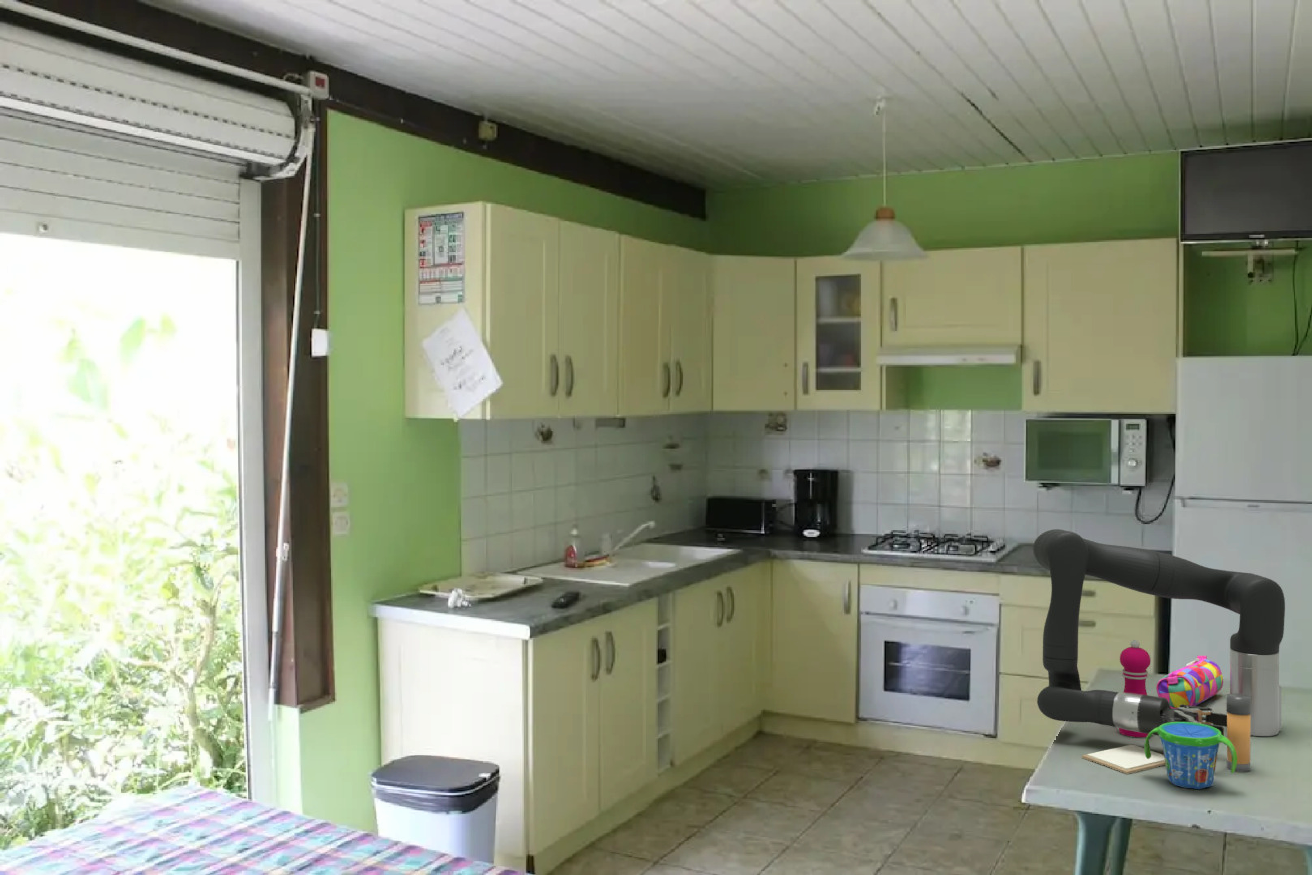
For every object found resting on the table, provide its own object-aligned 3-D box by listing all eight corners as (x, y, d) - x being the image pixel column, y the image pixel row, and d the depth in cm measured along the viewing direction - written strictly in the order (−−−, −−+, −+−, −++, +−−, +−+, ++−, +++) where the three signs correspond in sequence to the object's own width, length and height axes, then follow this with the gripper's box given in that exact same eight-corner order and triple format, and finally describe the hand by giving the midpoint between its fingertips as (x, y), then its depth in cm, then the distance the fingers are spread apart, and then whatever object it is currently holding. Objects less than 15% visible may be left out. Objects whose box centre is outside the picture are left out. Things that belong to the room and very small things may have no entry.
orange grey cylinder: (1236, 763, 218) (1236, 692, 218) (1255, 769, 215) (1256, 697, 214) (1221, 766, 217) (1221, 695, 216) (1241, 773, 213) (1241, 700, 212)
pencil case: (1183, 689, 272) (1183, 652, 272) (1225, 695, 266) (1225, 657, 266) (1154, 709, 256) (1154, 670, 256) (1198, 716, 250) (1198, 676, 249)
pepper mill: (1143, 740, 233) (1143, 645, 233) (1110, 732, 239) (1110, 640, 238) (1160, 733, 238) (1160, 640, 237) (1127, 725, 244) (1127, 634, 243)
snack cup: (1135, 780, 210) (1135, 727, 210) (1157, 766, 217) (1157, 715, 217) (1224, 801, 199) (1224, 744, 199) (1244, 785, 206) (1244, 731, 206)
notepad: (1131, 746, 230) (1131, 742, 230) (1177, 762, 220) (1177, 758, 220) (1081, 757, 223) (1081, 753, 223) (1127, 774, 214) (1127, 770, 214)
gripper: (1130, 702, 221) (1220, 716, 211) (1150, 687, 232) (1237, 699, 222) (1130, 740, 221) (1220, 756, 211) (1150, 723, 232) (1237, 736, 222)
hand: (1228, 727), depth 216 cm, fingers open, 8 cm apart
